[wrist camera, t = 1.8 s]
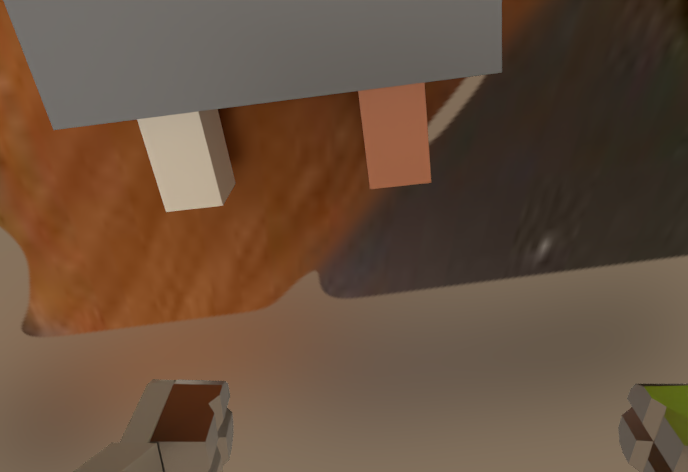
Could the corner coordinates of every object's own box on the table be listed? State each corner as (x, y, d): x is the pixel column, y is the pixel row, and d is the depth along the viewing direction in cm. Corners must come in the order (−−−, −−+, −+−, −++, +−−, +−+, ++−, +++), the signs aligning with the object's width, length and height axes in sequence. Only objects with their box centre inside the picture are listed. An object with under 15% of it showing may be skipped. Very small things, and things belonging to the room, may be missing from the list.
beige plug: (235, 183, 40) (222, 205, 37) (183, 189, 41) (166, 211, 37) (199, 33, 35) (180, 41, 32) (140, 41, 36) (115, 51, 32)
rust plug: (425, 161, 39) (431, 182, 35) (369, 168, 39) (370, 189, 36) (414, 2, 34) (419, 8, 30) (350, 11, 34) (349, 18, 31)
